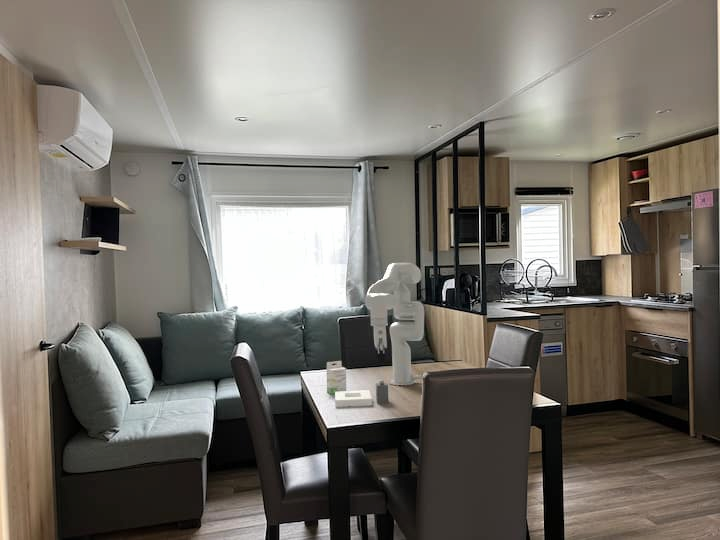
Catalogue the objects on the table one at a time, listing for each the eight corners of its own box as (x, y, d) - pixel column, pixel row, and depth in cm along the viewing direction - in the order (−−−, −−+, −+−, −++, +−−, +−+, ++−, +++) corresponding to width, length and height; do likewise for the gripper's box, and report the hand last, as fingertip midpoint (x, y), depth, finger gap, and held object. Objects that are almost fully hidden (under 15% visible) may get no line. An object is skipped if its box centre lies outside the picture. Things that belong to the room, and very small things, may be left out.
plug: (387, 400, 231) (386, 379, 231) (388, 403, 226) (387, 381, 226) (376, 400, 230) (375, 379, 230) (377, 403, 225) (376, 382, 225)
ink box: (330, 394, 245) (329, 363, 245) (326, 392, 249) (325, 362, 249) (347, 392, 249) (346, 361, 249) (342, 390, 253) (341, 360, 253)
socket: (369, 396, 239) (369, 389, 239) (372, 405, 223) (371, 398, 223) (335, 397, 238) (334, 391, 238) (335, 407, 222) (335, 400, 222)
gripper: (389, 323, 220) (390, 363, 220) (385, 320, 237) (386, 357, 237) (372, 324, 219) (373, 364, 219) (369, 320, 237) (370, 357, 237)
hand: (380, 360), depth 228 cm, fingers open, 9 cm apart
